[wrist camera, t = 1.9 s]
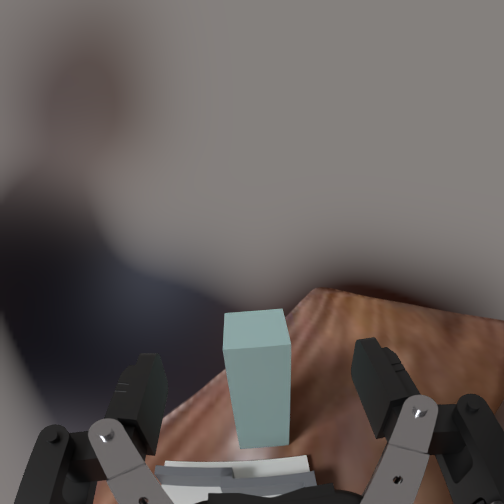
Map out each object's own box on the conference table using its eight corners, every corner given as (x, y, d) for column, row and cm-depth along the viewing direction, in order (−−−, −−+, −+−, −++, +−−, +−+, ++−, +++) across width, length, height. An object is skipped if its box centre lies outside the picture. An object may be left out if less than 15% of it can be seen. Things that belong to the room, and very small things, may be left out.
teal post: (283, 410, 32) (282, 308, 27) (288, 444, 28) (290, 344, 22) (239, 413, 32) (224, 313, 27) (240, 448, 28) (222, 349, 22)
